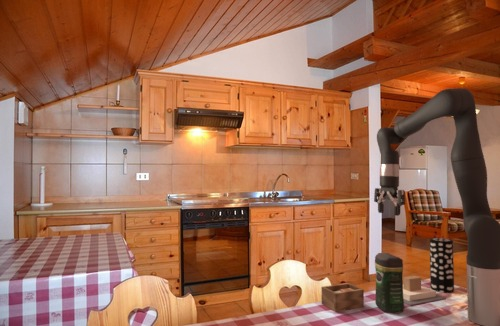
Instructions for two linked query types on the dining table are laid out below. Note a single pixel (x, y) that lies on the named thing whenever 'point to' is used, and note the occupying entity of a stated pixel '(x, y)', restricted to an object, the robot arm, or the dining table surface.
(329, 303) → the tea box
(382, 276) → the coffee jar
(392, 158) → the robot arm
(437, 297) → the mat
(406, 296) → the lid
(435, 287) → the spotted tube
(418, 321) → the dining table surface
